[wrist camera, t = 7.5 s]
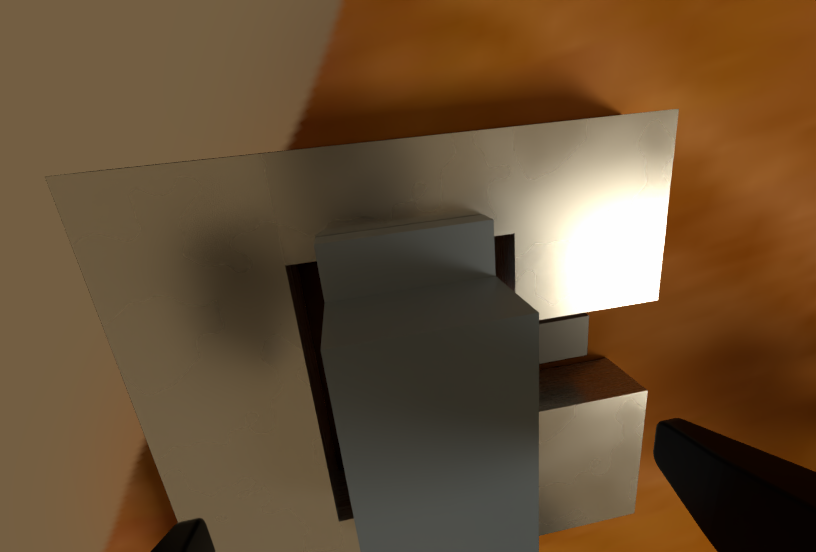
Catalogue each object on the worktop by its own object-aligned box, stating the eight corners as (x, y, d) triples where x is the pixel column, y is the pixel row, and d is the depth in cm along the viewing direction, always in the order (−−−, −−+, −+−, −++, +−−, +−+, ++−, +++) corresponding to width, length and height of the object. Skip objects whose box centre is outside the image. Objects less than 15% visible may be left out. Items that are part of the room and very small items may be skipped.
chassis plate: (623, 114, 12) (678, 109, 10) (599, 469, 16) (634, 512, 14) (100, 170, 10) (45, 177, 8) (229, 550, 14) (213, 613, 12)
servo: (577, 186, 12) (728, 213, 7) (569, 435, 15) (673, 565, 10) (319, 220, 11) (305, 276, 7) (365, 477, 14) (378, 642, 10)
